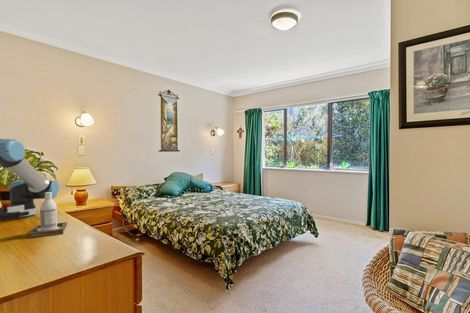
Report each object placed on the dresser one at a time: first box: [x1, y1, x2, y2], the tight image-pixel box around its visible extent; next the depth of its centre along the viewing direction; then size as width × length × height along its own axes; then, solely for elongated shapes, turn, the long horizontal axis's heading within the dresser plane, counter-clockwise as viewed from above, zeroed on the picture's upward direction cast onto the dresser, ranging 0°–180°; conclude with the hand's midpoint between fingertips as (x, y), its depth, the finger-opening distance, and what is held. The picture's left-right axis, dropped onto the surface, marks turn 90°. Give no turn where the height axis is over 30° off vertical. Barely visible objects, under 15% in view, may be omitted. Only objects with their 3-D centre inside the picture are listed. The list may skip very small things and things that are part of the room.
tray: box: [28, 221, 68, 239], centre depth 131 cm, size 14×14×2 cm
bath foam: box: [39, 192, 58, 231], centre depth 130 cm, size 7×7×20 cm
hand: (30, 209), depth 123 cm, fingers open, 13 cm apart
